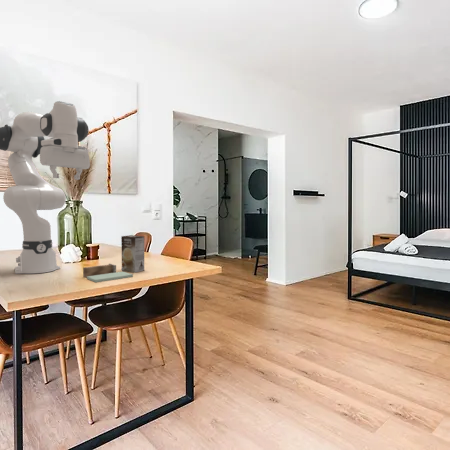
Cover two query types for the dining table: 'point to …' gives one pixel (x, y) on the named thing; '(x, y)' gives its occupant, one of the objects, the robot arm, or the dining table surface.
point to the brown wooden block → (99, 270)
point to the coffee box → (132, 253)
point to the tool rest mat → (109, 276)
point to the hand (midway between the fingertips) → (66, 178)
